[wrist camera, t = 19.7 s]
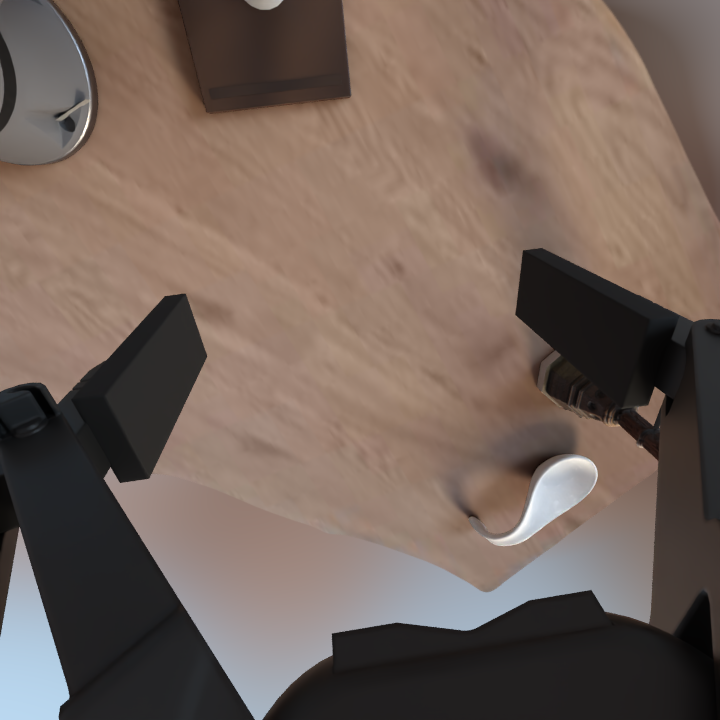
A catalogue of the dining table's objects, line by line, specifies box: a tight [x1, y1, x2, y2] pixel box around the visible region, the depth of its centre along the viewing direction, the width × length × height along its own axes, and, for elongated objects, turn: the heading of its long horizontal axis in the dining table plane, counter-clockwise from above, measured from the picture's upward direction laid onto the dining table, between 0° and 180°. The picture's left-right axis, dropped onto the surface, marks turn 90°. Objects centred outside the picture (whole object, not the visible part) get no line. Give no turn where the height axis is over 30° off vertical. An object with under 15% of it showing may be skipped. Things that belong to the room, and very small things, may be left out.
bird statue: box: [537, 350, 660, 460], centre depth 42 cm, size 17×13×35 cm
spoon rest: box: [469, 454, 597, 546], centre depth 67 cm, size 24×12×7 cm, turn 136°
